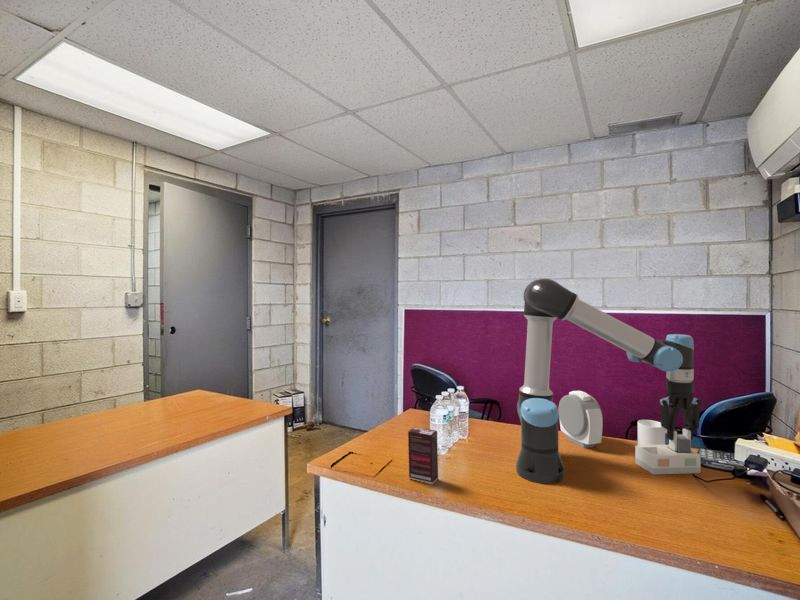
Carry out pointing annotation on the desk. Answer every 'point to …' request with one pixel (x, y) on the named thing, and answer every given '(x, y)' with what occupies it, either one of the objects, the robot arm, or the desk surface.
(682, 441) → the plug
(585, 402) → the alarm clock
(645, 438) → the mug
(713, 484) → the desk surface
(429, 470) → the supplement box
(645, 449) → the divided sorting tray
